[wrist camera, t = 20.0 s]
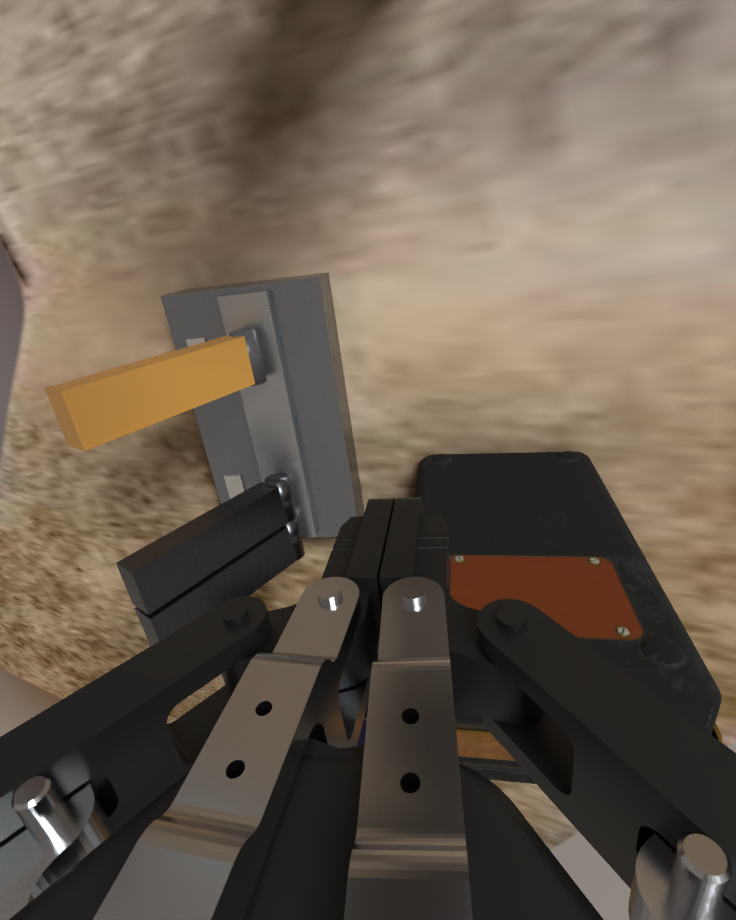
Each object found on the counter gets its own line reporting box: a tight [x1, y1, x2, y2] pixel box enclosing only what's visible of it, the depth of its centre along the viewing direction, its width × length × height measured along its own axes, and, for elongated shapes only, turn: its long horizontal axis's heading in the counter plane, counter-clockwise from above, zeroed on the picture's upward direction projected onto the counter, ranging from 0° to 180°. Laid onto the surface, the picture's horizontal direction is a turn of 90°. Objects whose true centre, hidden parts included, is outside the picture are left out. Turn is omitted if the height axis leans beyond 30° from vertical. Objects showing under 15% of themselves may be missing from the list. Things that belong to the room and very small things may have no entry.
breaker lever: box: [45, 328, 267, 451], centre depth 34 cm, size 4×2×15 cm, turn 7°
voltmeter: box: [415, 451, 722, 784], centre depth 34 cm, size 16×9×25 cm, turn 95°
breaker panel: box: [116, 273, 364, 646], centre depth 38 cm, size 24×14×18 cm, turn 7°
